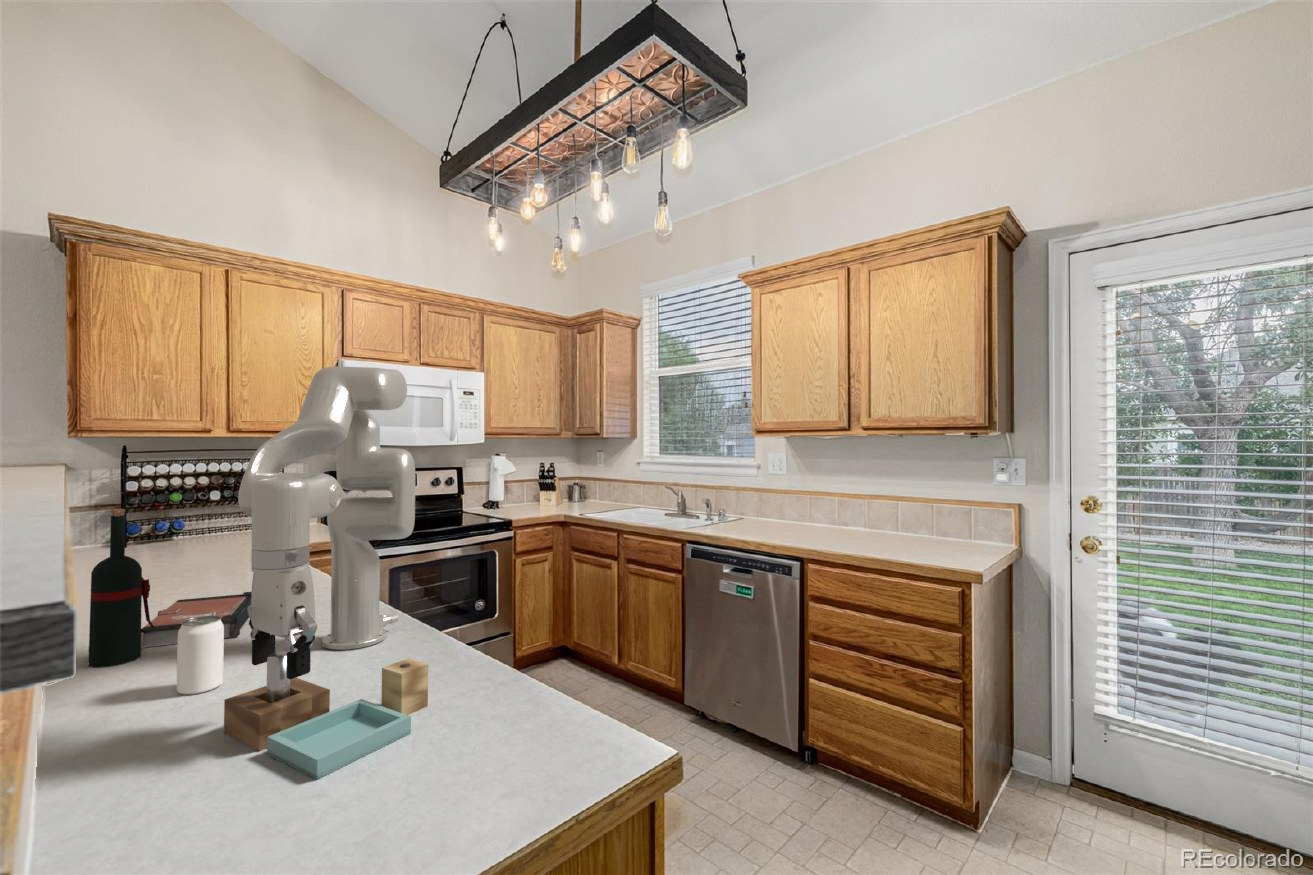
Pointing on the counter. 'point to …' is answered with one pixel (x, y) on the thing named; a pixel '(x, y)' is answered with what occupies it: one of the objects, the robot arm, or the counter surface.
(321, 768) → the tray
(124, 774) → the counter surface
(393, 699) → the oak block
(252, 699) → the bore block
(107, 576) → the wine bottle
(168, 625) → the book
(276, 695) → the cylinder
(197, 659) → the can
